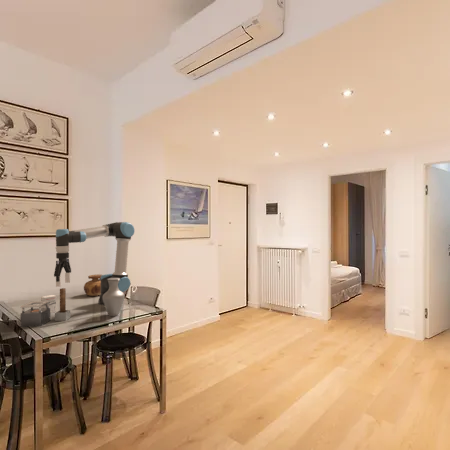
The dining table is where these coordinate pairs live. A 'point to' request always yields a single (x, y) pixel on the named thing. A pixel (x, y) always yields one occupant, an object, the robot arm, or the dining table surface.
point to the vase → (113, 297)
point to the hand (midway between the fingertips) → (63, 284)
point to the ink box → (52, 302)
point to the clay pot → (93, 285)
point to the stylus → (63, 300)
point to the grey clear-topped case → (35, 314)
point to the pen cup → (62, 316)
